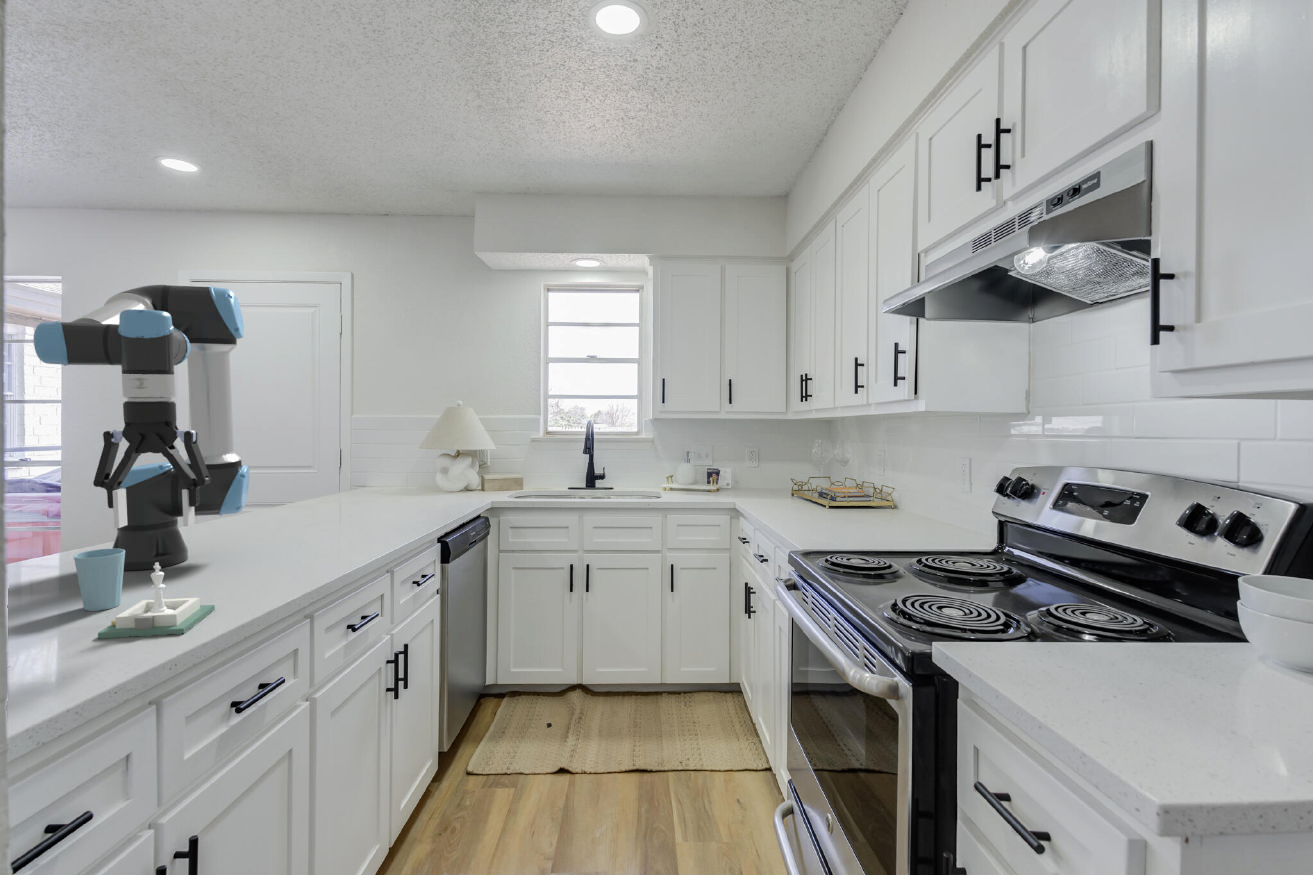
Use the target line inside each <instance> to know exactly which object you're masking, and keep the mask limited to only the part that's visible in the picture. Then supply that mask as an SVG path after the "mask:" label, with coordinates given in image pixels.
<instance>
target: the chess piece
mask: <svg viewBox="0 0 1313 875" xmlns="http://www.w3.org/2000/svg"><path fill="white" fill-rule="evenodd" d="M153 569H154V570H155V571H154V572H152V573H151V574H150V578H151V579H152V583H153V585H152V586H151V587H150V589H151V590H154V598H153V600H154V606H153V609H151V612H148V613H168V612H173V611H174V610H171V609H166V608H167V607H165V605H164V601H163V599H164V596H163V590H162V589H164V588H165V587H166V585H165V584H163V583H162V582H163V579H164V576H165V573H164V572H163V571H160V570H161V569H162V567H160V566H159V563H158V562H157V563H155V566H154V568H153ZM146 614H147V613H146Z"/></svg>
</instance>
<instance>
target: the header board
mask: <svg viewBox="0 0 1313 875" xmlns="http://www.w3.org/2000/svg"><path fill="white" fill-rule="evenodd" d="M163 601H164V605H165V607H167V608H166V609H171V610H174V611H173V612H168V613H148V612H151V609H153V606H154V599H142V600H141V601H139V602H138V603H136V604H134V605H133V606H131V607H130V608H127V609H126V610H124V611H123V612H121V613H119V614H118V615H116V616H115V620H112V621H111V624H110V625H108V626H107V627H105V628H103V629H101V630H100V631H99V632H97V639H98V638H101V639H116V638H117V639H119V638H130V637H129V636H132V637H131V638H134V637H133V636H139V637H151V636H150V635H158V636H168V635H167V634H177V635H185V634H186V633H187V632H189V631H190V630H191V629H192V627H193V626H194V625H195V624H196V623H197V622H199V621H200V620H201V621H203V620H204V619H205V618H207V616H206V615H208V614H209V613H210V614H212V613H211V611H213V610H214V611H215V610H216V605H215V604H202V605H201V598H200V597H188V598H187V597H183V598H163ZM214 611H213V612H214ZM146 613H147V614H146ZM210 614H209V615H210ZM209 615H208V616H209ZM204 617H205V618H204ZM203 618H204V619H203ZM202 619H203V620H202ZM201 621H200V622H201ZM200 622H199V623H200ZM196 625H197V624H196ZM196 625H195V626H196ZM195 626H194V627H195ZM194 627H193V628H194ZM190 628H191V629H190ZM189 629H190V630H189ZM188 630H189V631H188ZM186 631H187V632H186ZM182 633H183V634H182ZM184 633H185V634H184ZM118 637H119V638H118Z"/></svg>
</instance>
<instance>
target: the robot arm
mask: <svg viewBox="0 0 1313 875" xmlns="http://www.w3.org/2000/svg"><path fill="white" fill-rule="evenodd" d="M244 325H245V324H244V320H243V314H242V309H241V305H240V302H239V300H238V297H237V295H236V294H235V293H234V292H233V291H232V289H231V290H230V289H228V288H222V287H215V286H192V285H191V286H189V285H172V284H171V285H170V284H169V285H168V284H151V285H150V284H149V285H144V286H138V287H135V288H130V289H128V290H125V291H122V292H119V293H116V294H114V295H112V296H111V297H109V298H108V299H107V301H105V302H104V306H101V307H100V308H97V309H95V310H93V311H91V312H89V313H86V314H84V315H82V316H81V317H78V318H77V319H74V320H72V321H68V322H67V321H58V320H56V321H43V322H40V323H39V324H38V325H37V326H36V327H35V329H34V333H33V347H34V351H35V354H36V356H37V357H38V360H40V361H42V362H43V363H44V364H47V365H60V366H61V365H63V366H69V365H71V366H121V368H120V369H121V384H122V385H121V387H122V388H121V390H122V397H123V398H125V399H126V400H127V401H124V402H123V403H122V409H123V411H122V413H123V422H124V427H123V429H122V430H116V429H112V430H111V429H110V430H106V431H104V432H103V433H102V437H103V447H102V451H101V454H100V458H99V461H98V464H97V468H96V472H95V475H94V479H93V482H92V484H93V486H94V487H95V488H101V489H104V490H106V496H107V498H106V499H107V507H108V508H109V509H113V527H114V529H116V530H117V531H116V532H117V533H116V536H115V539H114V542H113V544H112V548H111V549H123V550H125V559H124V570H123V571H141V570H142V571H143V570H151V569H154V566H155V563H157V562H158V563H159V566H160V567H161V568H165V567H170V566H174V565H178V564H180V563H184V562H185V561H187V560H188V559H189V551H188V550H189V549H188V547H187V543H186V542H185V540H184V538H183V535H182V533H181V531H180V529H179V520H178V519H179V518H180V517H181V518H182V519H183V524H182V525H183V527H190V526H192V525H194V524H196V517H198V516H199V517H201V516H202V517H203V516H218V515H219V516H221V517H222V516H224V515H225V516H226V515H234V514H238V513H240V512H242V511H243V509H244V508H245V505H246V502H247V498H248V493H249V486H250V478H251V477H250V467H249V466H248V465H245V464H242V457H241V456H239V455H238V454H237V453H236V452H235V451H234V450H235V449H234V447H235V444H234V427H233V426H234V424H233V423H234V422H233V403H232V401H233V400H232V397H233V396H232V379H231V378H232V377H231V352H232V351H233V350H234V349H235V348H236V347H237V346H238V345H237V343H238V341H237V339H238V340H239V339H243V338H244V335H245V330H244V328H245V327H244ZM186 360H187V377H188V378H187V381H188V382H187V383H188V399H189V404H188V405H189V419H190V422H189V423H190V430H180V429H179V428H178V425H177V404H176V402H175V401H174V400H172V398H173V399H174V398H175V397H176V380H175V379H176V378H175V366H178V365H180V364H182V363H183V362H185V361H186ZM123 438H124V440H126V442H127V443H128V446H127V448H126V449H125V451H124V453H123V456H122V458H121V460H120V461H119V463H118V465H117V466H116V468H115V469H114V465H115V462H116V458H117V454H118V451H119V448H120V443H121V442H122V441H123ZM178 438H179V439H180V441H181V443H183V445H184V449H185V452H186V454H187V458H186V459H184V458H183V456H182V455H181V454H180V451H179V449H178V447H177V446H176V445H175V442H176V440H177V439H178ZM148 453H151V454H161V455H162V456H163V457H164V458H166V460H167V461H163V462H162V461H161V462H153V463H147V464H141V465H134V464H135V463H136V461H137V460H138V458H139V457H140V456H141V455H142V454H148ZM113 469H114V471H113ZM112 472H113V473H112Z"/></svg>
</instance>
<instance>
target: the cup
mask: <svg viewBox="0 0 1313 875" xmlns="http://www.w3.org/2000/svg"><path fill="white" fill-rule="evenodd" d="M124 559H125V550H123V549H112V548H101V549H91V550H86V551H82V552H79V553H76V554H74V555H73V560H74V565H75V570H76V575H77V580H78V584H79V590H80V595H81V601H82V605H83V609H84V610H85V611H88V612H98V611H106V610H111V609H114V608H116V607H118V606H120V605H121V604H122V602H121V601H122V592H123V591H122V590H123V580H124V579H123V578H124V571H125V570H124Z"/></svg>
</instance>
